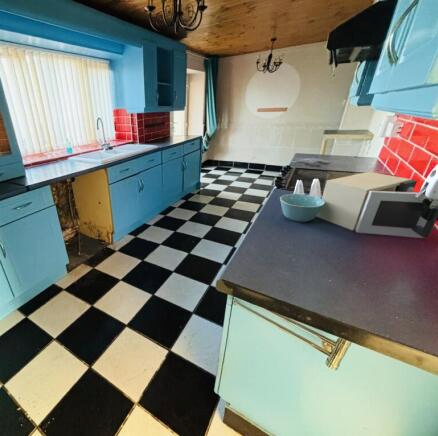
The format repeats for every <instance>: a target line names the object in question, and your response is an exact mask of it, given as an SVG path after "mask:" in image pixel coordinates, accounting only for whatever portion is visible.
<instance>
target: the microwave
mask: <svg viewBox="0 0 438 436" xmlns="http://www.w3.org/2000/svg"><path fill="white" fill-rule="evenodd" d="M417 183H418V180H414V179H412V178H406V177H400V176H396V175H389V174H384V173H379V172H373V171H367V172H363V173H357V174H352V175H347V176H341V177H338V178H331V179H328V180H326V181H325V187H324V189H323V193H322V195H321V199H322V200H323V201H324V202H325V204H324V206H323V207H322V208H321V210H320V211H319V212H318V214H317V215H316V217H317V218H319V219H322V220H324V221H327V222H330V223H331V224H335V225H337V226H340V227H342V228H345V229H348V230H351V231H355V230H356V227H357V224H358V221H359V218H360V216H361V213H362V210H363V207H364V205H365V202H366V199H367V196H368V193H369V191H390V192H414V191H415V187H416V185H417Z"/></svg>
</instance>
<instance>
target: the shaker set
mask: <svg viewBox="0 0 438 436" xmlns="http://www.w3.org/2000/svg"><path fill="white" fill-rule="evenodd" d="M304 189H305V188H304V184H303V181H302V179H300V180H299V179H297V180H296V183H295V187H294V190H293V194H304V195H306V194H305V190H304ZM321 191H322V190H321V182H320V180H319V179H318V178H314V179H313V180H312V183H311V184H310V190H309V194H308V195H310V196H314V197H318V198H320V199H321V198H322V192H321Z"/></svg>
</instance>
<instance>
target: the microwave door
mask: <svg viewBox="0 0 438 436" xmlns="http://www.w3.org/2000/svg"><path fill="white" fill-rule="evenodd" d="M418 193H419V192H414V191H413V192H390V191H369V193H368V196H367V199H366V202H365V205H364V207H363V210H362V213H361V216H360V218H359V221H358V224H357V227H356V230H354V231H355V232H356V233H359V234H369V235H370V234H371V235H382V236H393V237H405V238H417V239H423V238H426V239H427V238H429V237H430V234H431V233H432V231H433V229H434V228H435V227H434V226H435V225H436V222H438V221H437V219H438V202H437V204H436V206H435V207H434V209H435V212H434V214H433V216H432V218H431V219H430V220H429V221H428V220H425V219H423V218H422V217H421V213H422V211H423V210H424V208H425V205H424V204H423V202H422V201H420V200H418V199H416V198H414V196H415V195H417V194H418ZM424 198H427V197H426V196H424Z"/></svg>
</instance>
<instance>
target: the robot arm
mask: <svg viewBox="0 0 438 436" xmlns="http://www.w3.org/2000/svg"><path fill="white" fill-rule="evenodd" d="M436 160H437V162H438V157H437V159H436ZM420 187H421V188H420V190H419V192H417V193H418V194H417V195H415V196H414V198H416V199H418V200H420V201H422V202H423V204H424V205H425V208H424V210H423V211H422V213H421V217H422V218H423V219H425V220H428V221H429V220H430V219H431V218H432V216H433V214H434V212H435V209H434V207H435V206H436V204H437V202H438V163H437V164H436V165H435V166H434V167H433V169H432V170H431V171H430V173H429V174H428V175H427V177H426V178H425V180H424V182H423V184H422V185H421V186H420ZM424 196H426V197H427V198H424ZM436 222H438V219H437V221H436Z"/></svg>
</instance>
